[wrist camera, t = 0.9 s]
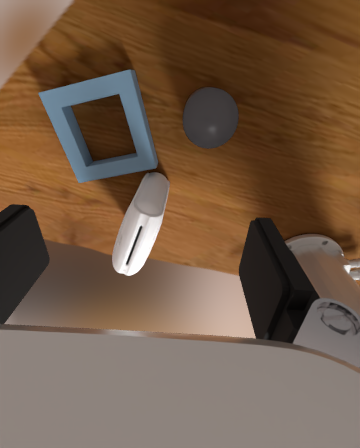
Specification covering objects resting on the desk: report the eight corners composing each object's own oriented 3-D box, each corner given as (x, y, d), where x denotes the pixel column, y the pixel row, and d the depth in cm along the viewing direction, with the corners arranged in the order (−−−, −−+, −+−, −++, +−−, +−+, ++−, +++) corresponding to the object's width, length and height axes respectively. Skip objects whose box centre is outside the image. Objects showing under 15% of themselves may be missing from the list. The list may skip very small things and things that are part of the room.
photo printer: (151, 232, 39) (136, 288, 28) (126, 223, 38) (102, 277, 27) (174, 178, 34) (166, 221, 23) (146, 166, 33) (125, 206, 22)
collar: (134, 70, 27) (130, 69, 25) (158, 162, 32) (156, 168, 30) (49, 92, 28) (38, 92, 26) (86, 176, 34) (78, 182, 32)
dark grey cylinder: (226, 81, 27) (236, 81, 21) (230, 130, 30) (240, 142, 24) (180, 92, 28) (177, 95, 22) (188, 139, 31) (188, 152, 25)
